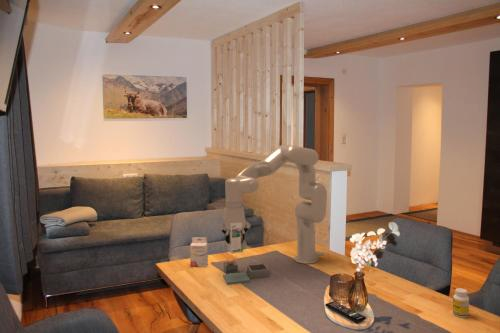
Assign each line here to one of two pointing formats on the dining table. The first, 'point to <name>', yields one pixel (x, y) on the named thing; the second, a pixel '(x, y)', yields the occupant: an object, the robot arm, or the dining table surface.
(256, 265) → the frame
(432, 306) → the dining table surface
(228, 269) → the plunger housing
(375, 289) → the dining table surface
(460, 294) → the supplement bottle
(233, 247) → the syrup box
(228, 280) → the mat
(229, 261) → the plunger
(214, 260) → the dining table surface
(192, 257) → the ink cartridge box
